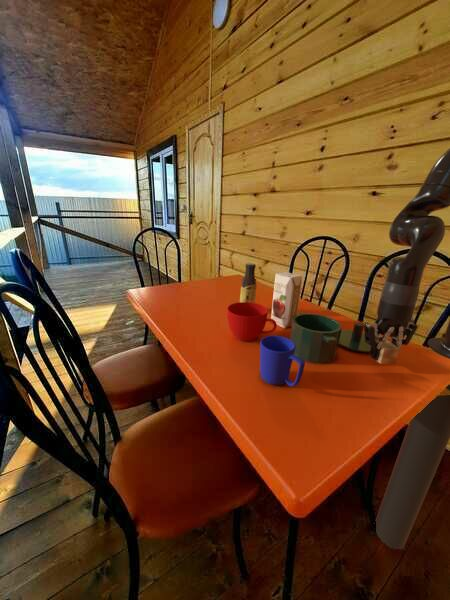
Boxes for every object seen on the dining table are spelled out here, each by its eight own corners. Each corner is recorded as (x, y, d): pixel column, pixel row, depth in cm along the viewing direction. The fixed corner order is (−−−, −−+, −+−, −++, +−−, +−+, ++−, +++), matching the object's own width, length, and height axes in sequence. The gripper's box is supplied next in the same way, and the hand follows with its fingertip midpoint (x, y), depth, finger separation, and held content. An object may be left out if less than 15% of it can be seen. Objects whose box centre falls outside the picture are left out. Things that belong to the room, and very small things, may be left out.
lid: (361, 331, 91) (365, 314, 89) (391, 353, 77) (397, 333, 75) (323, 333, 89) (326, 315, 87) (347, 355, 76) (351, 335, 73)
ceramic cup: (263, 355, 74) (266, 324, 71) (218, 337, 83) (219, 309, 80) (282, 339, 84) (286, 311, 80) (240, 325, 93) (241, 299, 90)
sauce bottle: (245, 314, 103) (248, 266, 97) (236, 309, 108) (238, 263, 101) (257, 311, 107) (261, 264, 100) (247, 306, 112) (250, 261, 105)
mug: (285, 403, 55) (291, 364, 52) (250, 375, 65) (253, 340, 62) (310, 390, 60) (316, 353, 57) (274, 365, 69) (278, 332, 66)
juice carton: (281, 317, 101) (286, 270, 95) (298, 325, 95) (305, 275, 88) (267, 321, 97) (272, 273, 91) (285, 330, 90) (291, 278, 84)
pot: (318, 335, 87) (322, 309, 84) (350, 367, 69) (357, 336, 66) (279, 336, 85) (282, 310, 82) (303, 370, 68) (308, 338, 65)
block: (383, 354, 72) (387, 340, 70) (395, 363, 68) (400, 348, 66) (369, 355, 71) (372, 340, 70) (380, 364, 67) (384, 349, 65)
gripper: (382, 305, 59) (367, 367, 65) (436, 303, 61) (417, 364, 67) (361, 295, 66) (350, 352, 72) (411, 293, 68) (395, 349, 74)
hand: (382, 357), depth 69 cm, fingers closed on block, 4 cm apart
